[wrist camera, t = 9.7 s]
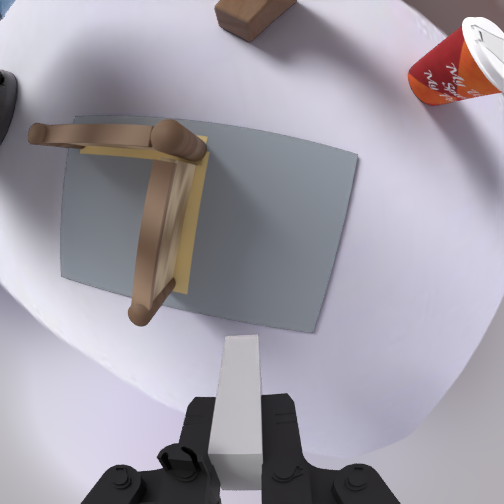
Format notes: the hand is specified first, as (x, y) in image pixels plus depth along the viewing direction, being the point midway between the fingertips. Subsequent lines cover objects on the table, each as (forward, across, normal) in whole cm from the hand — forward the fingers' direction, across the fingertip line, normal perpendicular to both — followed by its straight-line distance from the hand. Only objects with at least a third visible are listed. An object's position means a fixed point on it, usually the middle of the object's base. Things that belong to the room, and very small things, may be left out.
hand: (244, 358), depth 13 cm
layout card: (+17, -6, +5) cm, 19 cm away
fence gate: (+16, -7, +4) cm, 18 cm away
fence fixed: (+17, -11, +13) cm, 24 cm away
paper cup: (+17, +23, +20) cm, 35 cm away
